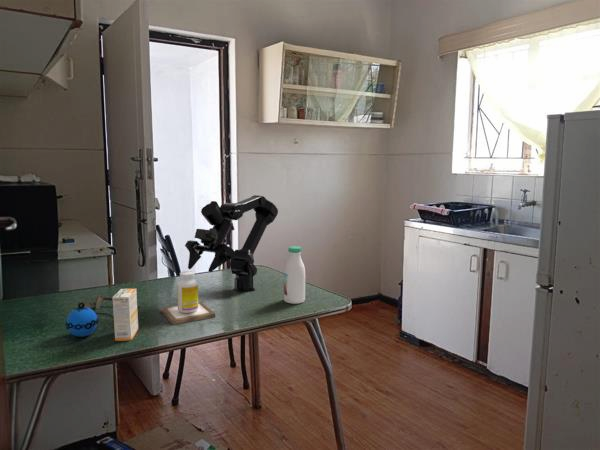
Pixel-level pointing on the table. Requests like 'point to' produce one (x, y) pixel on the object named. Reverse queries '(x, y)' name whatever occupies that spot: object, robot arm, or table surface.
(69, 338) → the table surface
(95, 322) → the ornament
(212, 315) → the walnut picture frame
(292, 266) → the milk bottle
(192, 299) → the supplement bottle
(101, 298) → the eyeglasses
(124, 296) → the supplement box
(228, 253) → the robot arm
